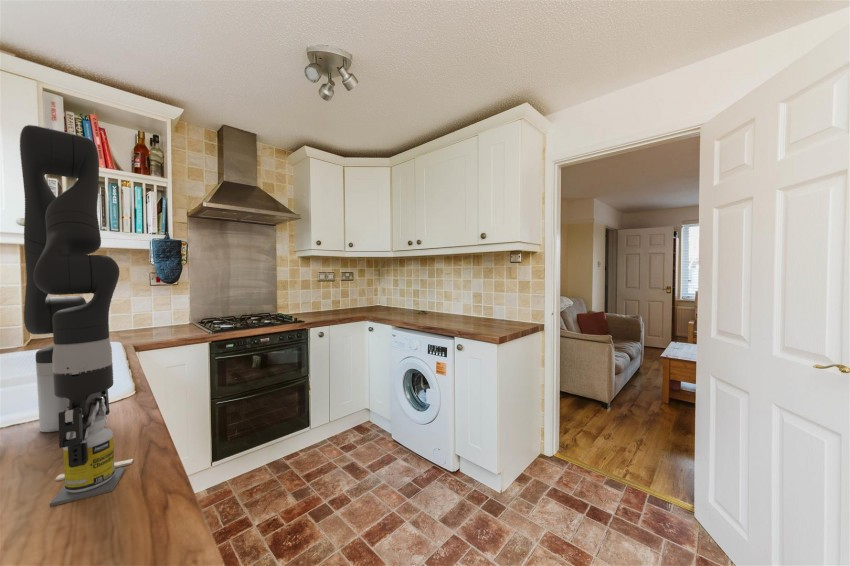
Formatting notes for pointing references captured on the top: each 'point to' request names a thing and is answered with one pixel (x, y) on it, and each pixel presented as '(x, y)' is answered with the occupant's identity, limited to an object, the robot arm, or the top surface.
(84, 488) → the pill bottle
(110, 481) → the mat
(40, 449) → the top surface
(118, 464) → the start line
